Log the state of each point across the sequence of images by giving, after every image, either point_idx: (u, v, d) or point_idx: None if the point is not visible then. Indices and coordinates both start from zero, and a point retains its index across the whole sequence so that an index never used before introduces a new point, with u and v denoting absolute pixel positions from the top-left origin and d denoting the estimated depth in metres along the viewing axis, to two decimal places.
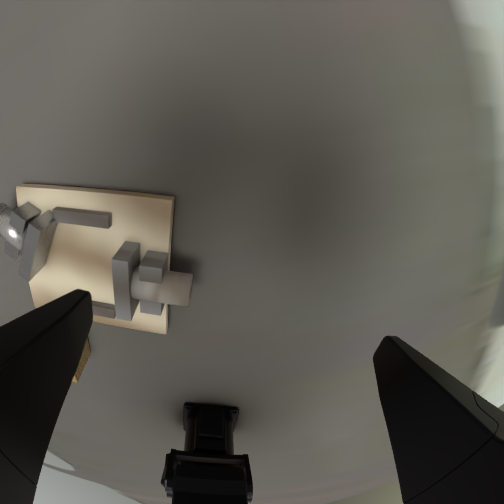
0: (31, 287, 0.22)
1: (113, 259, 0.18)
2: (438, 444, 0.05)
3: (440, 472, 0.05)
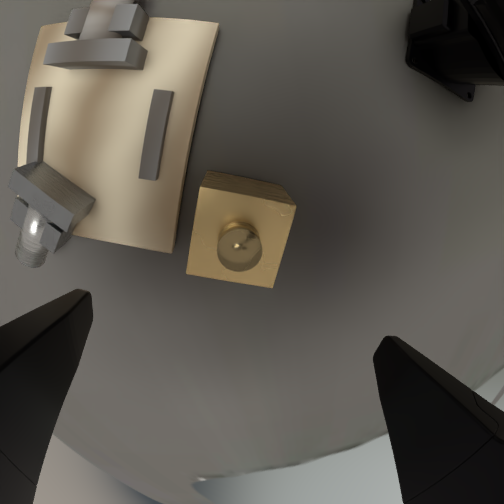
0: (136, 244, 0.17)
1: (44, 62, 0.10)
2: (438, 444, 0.05)
3: (440, 472, 0.05)
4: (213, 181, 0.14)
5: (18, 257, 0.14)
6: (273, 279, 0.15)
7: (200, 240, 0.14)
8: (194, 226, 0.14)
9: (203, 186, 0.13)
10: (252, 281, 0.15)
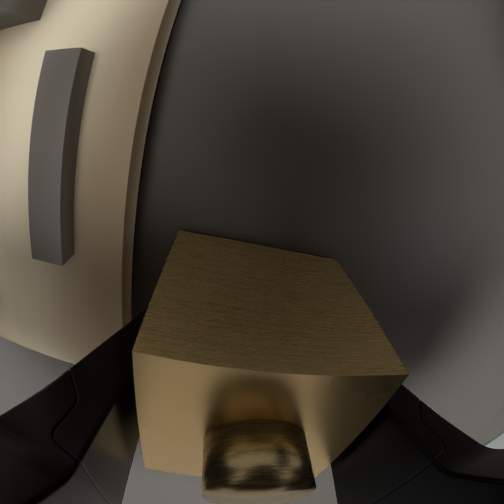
0: (65, 358, 0.08)
1: None
2: (373, 460, 0.05)
3: (374, 493, 0.04)
4: (182, 294, 0.05)
5: None
6: (320, 470, 0.06)
7: (161, 440, 0.05)
8: (141, 421, 0.04)
9: (144, 345, 0.04)
10: None
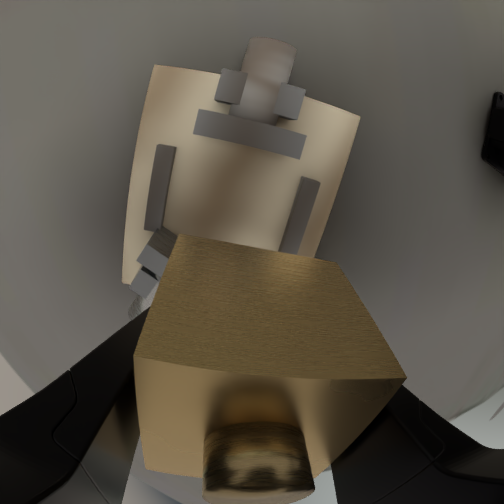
0: None
1: (194, 131, 0.12)
2: (373, 460, 0.05)
3: (374, 493, 0.04)
4: (183, 298, 0.05)
5: None
6: (319, 471, 0.06)
7: (161, 442, 0.05)
8: (142, 423, 0.04)
9: (145, 350, 0.04)
10: None
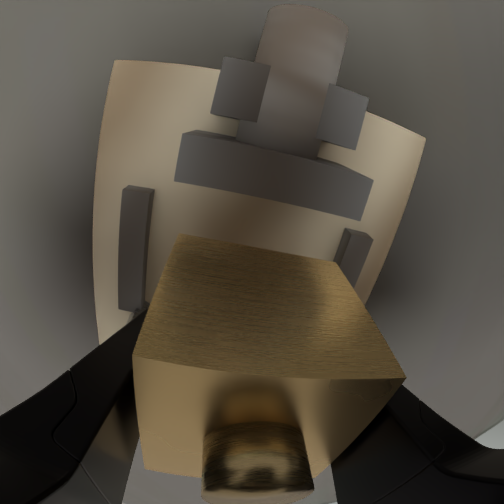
0: None
1: (175, 176, 0.07)
2: (373, 460, 0.05)
3: (374, 493, 0.04)
4: (182, 298, 0.05)
5: None
6: (319, 471, 0.06)
7: (161, 442, 0.05)
8: (141, 423, 0.04)
9: (143, 349, 0.04)
10: None
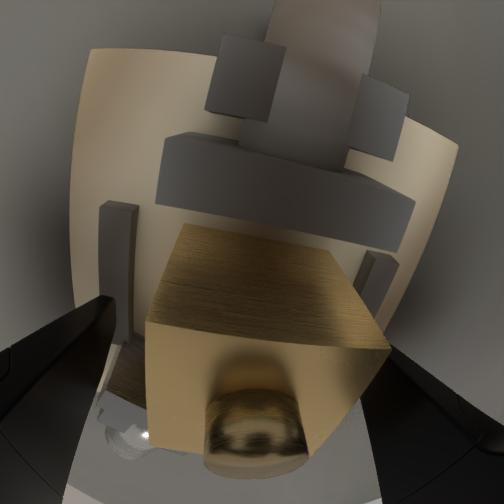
0: None
1: (157, 196, 0.05)
2: (419, 449, 0.05)
3: (420, 479, 0.04)
4: (188, 276, 0.06)
5: (118, 453, 0.10)
6: (315, 449, 0.07)
7: (166, 413, 0.05)
8: (148, 393, 0.05)
9: (155, 316, 0.04)
10: None
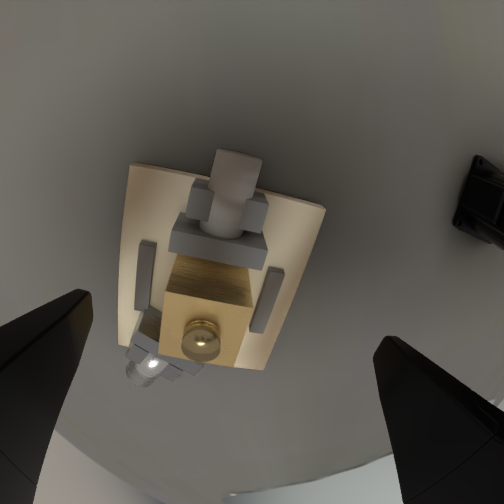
0: (236, 365, 0.23)
1: (168, 249, 0.15)
2: (438, 443, 0.05)
3: (440, 472, 0.05)
4: (179, 277, 0.16)
5: (133, 381, 0.19)
6: (234, 361, 0.16)
7: (168, 331, 0.15)
8: (162, 321, 0.15)
9: (168, 290, 0.14)
10: (215, 361, 0.16)
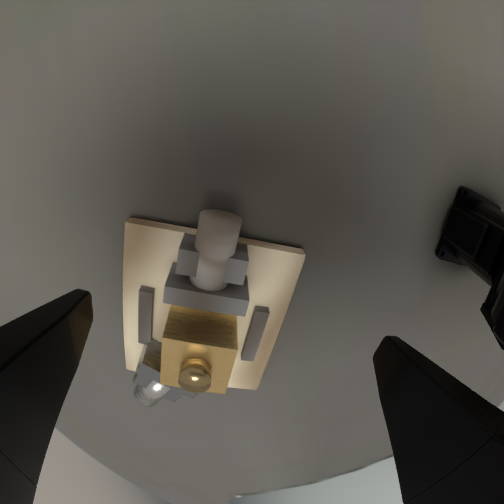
0: (231, 386, 0.25)
1: (163, 300, 0.17)
2: (438, 444, 0.05)
3: (440, 472, 0.05)
4: (174, 322, 0.18)
5: (140, 402, 0.22)
6: (225, 389, 0.18)
7: (167, 367, 0.17)
8: (161, 359, 0.17)
9: (164, 336, 0.16)
10: (209, 390, 0.18)
